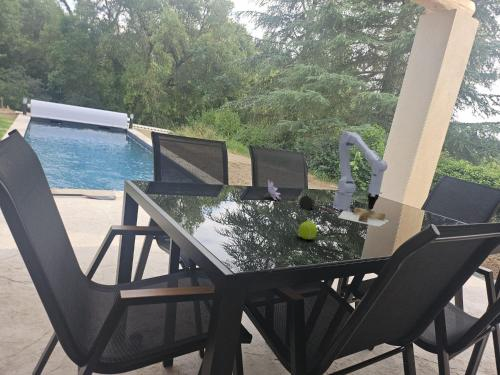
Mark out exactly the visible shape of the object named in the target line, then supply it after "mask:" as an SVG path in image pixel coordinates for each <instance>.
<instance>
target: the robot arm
mask: <svg viewBox="0 0 500 375" xmlns="http://www.w3.org/2000/svg"><path fill="white" fill-rule="evenodd" d="M353 146H357V148H358V149H359V150H360V151H361V152H362V153H363V154H364V156H363V157H364V159H366V161H367V162H368V164H369V165H370V168H371V178H370V182H369V187H368V190H367V192H368V194H367V195H366V197H367V202H368V205H367V208H368V209H367V210H373V209H374V207H375V204H376V202H377V201H378V199H379V197H380V195H382V194H383V192H381V188H382V184H383V183H382V182H383V178H384V174H385V172H386V171H387V169H388V163H387V162H386V161H385V160H382V158H381V157H380V156H379V155H378V154H377V151H376V150H372V149H370V148H369V147H368V146H367V144H366V143H365V141H364V140H363V139H362V135H360V134H359V133H358V132H352V131H349V130H348V131H347V130H344V131H343V132H342V133H341V134H340V135H339V144H338V154H339V155H338V156H339V168H340V176H341V177H340V179H339V180H338V183H337V184H338V185H337V191H338V192H335V194H334V198H333V203H332V208H333V209H338V210H342V211H343V210H344V211H349V212H351V211H350V210H351V208H350V207H351V202H352V198H353V195H354V194H355V193H356V191H357V185H356V184H355V180H354V178H353V177H352V172H351V158H350V149H351V147H353Z"/></svg>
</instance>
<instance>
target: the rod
mask: <svg viewBox="0 0 500 375" xmlns="http://www.w3.org/2000/svg"><path fill="white" fill-rule="evenodd" d="M353 213H354V214H355V215H359V216H360V215H362V213H366V214H367V216H368V217H369V218H373V219H378V220H382V221H384V220H385V219H386V214H387V213H385V212H384V213H383V212H380V211H374V210H372V209H366V208H361V207H354V209H353Z"/></svg>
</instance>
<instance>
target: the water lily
mask: <svg viewBox="0 0 500 375" xmlns="http://www.w3.org/2000/svg"><path fill="white" fill-rule="evenodd" d="M267 191H268V192H267V193H266V194H265V195H264V196H263V198H266V197H267V196H268V195H269V194H270V197H272V199H274V201H275V200H277V199H279V200H282V198H281V197H280V195H281V193H280V192H279V191H278V187H275V186H274V182H273V181H270V179H267ZM276 197H277V198H276Z"/></svg>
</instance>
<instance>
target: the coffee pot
mask: <svg viewBox="0 0 500 375" xmlns="http://www.w3.org/2000/svg"><path fill="white" fill-rule="evenodd" d="M299 206H300V208H301V209H303V210H306V211H307V210H310V209H311V208H314V207H315V208H318V209H321V210H323V211H325V212H329V213H335V210H333V209H331V208H330V209H329V208H327V207H324V206H320V205H319V204H316V200H315V199H314V198H312V197H311V196H310V195H304V196H303V195H302V196H301V198H300V199H299Z"/></svg>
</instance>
